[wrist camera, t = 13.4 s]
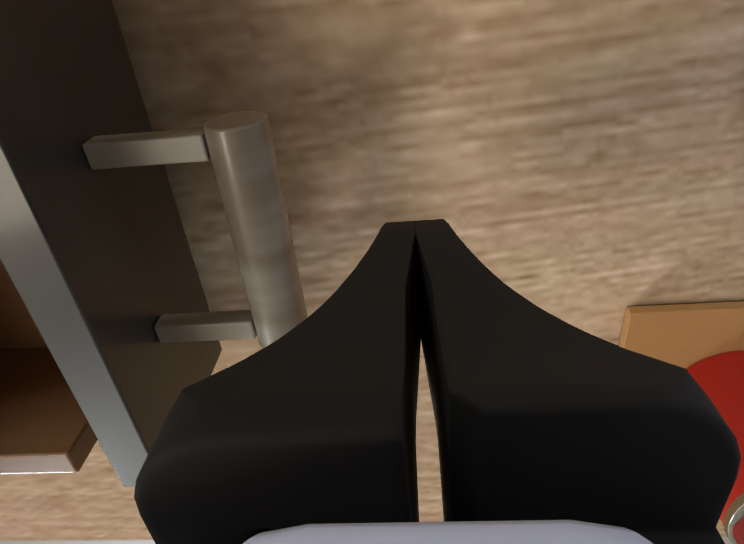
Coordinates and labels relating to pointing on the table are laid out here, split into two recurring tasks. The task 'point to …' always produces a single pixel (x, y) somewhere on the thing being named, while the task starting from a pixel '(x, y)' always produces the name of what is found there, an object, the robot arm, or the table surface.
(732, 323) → the trivet
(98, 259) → the drawer
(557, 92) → the table surface
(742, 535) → the tin
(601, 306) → the table surface
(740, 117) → the table surface
